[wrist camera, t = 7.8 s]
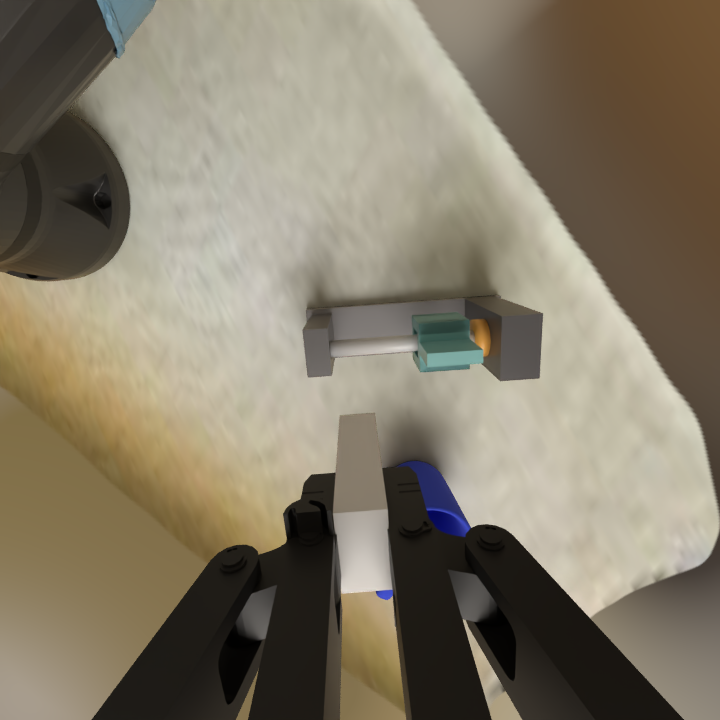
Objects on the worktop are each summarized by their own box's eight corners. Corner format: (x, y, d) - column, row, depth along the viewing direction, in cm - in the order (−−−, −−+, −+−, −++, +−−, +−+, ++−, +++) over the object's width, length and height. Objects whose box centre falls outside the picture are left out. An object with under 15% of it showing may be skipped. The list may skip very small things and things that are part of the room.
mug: (345, 520, 47) (344, 590, 37) (402, 438, 44) (415, 492, 35) (405, 549, 48) (418, 625, 39) (463, 472, 46) (492, 533, 36)
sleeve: (413, 359, 37) (427, 386, 29) (411, 315, 36) (426, 333, 28) (457, 355, 37) (482, 383, 29) (457, 311, 36) (483, 328, 28)
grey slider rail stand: (311, 357, 42) (298, 395, 31) (306, 308, 40) (290, 331, 30) (496, 343, 42) (546, 377, 31) (498, 295, 40) (549, 312, 30)
